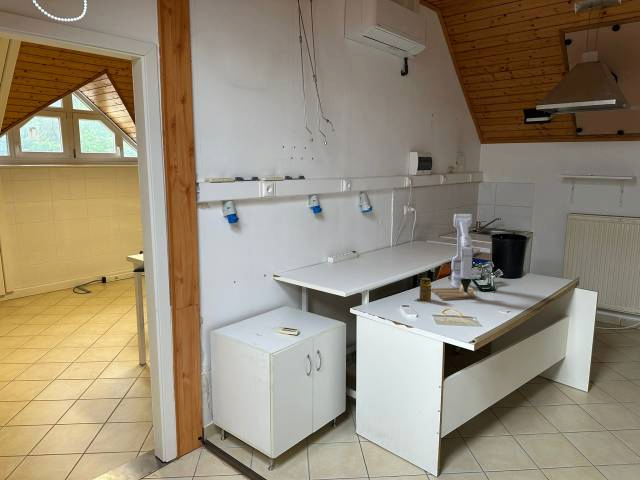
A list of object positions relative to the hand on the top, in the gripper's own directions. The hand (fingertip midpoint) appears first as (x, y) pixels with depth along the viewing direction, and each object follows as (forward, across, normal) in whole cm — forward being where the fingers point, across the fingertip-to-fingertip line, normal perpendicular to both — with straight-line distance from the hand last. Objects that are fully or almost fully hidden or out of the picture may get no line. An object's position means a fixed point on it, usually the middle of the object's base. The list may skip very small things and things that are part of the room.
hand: (465, 292), depth 262 cm
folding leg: (+1, +2, +5) cm, 5 cm away
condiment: (+3, -24, -1) cm, 24 cm away
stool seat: (+3, -5, +6) cm, 9 cm away
